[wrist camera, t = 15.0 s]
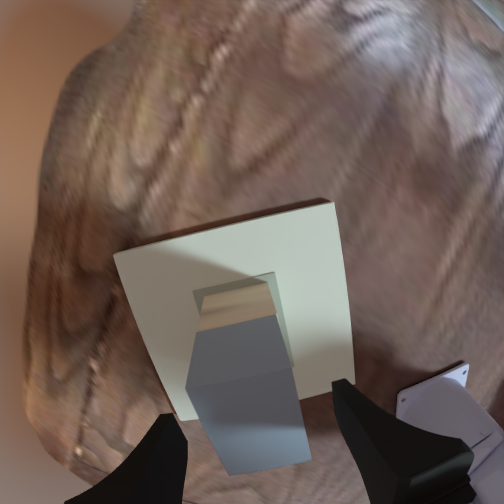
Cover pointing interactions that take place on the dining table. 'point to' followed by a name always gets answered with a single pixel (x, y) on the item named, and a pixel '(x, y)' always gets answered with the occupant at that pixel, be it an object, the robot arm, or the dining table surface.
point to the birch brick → (236, 307)
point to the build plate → (239, 276)
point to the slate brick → (247, 396)
